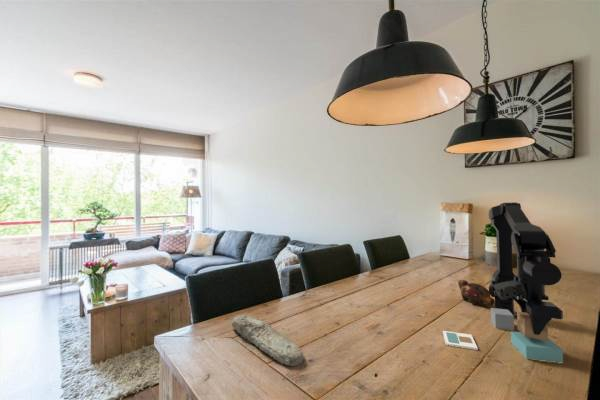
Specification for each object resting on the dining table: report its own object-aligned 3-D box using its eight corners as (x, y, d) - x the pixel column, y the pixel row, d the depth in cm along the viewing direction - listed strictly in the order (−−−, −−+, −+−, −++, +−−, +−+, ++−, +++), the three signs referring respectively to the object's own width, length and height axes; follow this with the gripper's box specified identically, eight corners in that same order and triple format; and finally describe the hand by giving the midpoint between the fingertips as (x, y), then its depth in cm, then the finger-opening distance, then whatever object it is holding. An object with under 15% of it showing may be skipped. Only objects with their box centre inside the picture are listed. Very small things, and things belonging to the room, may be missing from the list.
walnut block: (517, 328, 77) (517, 311, 77) (539, 331, 76) (538, 314, 76) (524, 337, 73) (524, 319, 73) (547, 340, 71) (547, 321, 71)
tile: (442, 332, 86) (442, 330, 86) (471, 336, 83) (471, 334, 83) (446, 345, 79) (446, 342, 79) (477, 350, 76) (477, 347, 76)
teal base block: (511, 344, 79) (510, 331, 79) (543, 348, 76) (543, 334, 76) (526, 360, 71) (526, 345, 71) (563, 364, 69) (562, 349, 69)
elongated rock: (284, 380, 68) (312, 365, 75) (285, 359, 68) (313, 346, 74) (223, 326, 94) (248, 319, 101) (224, 311, 94) (248, 305, 101)
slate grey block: (491, 322, 92) (490, 307, 92) (508, 324, 91) (508, 309, 91) (495, 328, 88) (495, 313, 88) (514, 331, 86) (513, 315, 86)
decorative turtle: (465, 294, 119) (466, 276, 118) (501, 309, 105) (502, 289, 104) (449, 296, 115) (450, 278, 115) (484, 312, 101) (486, 292, 101)
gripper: (487, 264, 86) (488, 312, 86) (507, 281, 69) (509, 341, 69) (530, 266, 82) (531, 317, 82) (563, 285, 64) (565, 349, 64)
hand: (532, 329), depth 74 cm, fingers closed on walnut block, 5 cm apart
